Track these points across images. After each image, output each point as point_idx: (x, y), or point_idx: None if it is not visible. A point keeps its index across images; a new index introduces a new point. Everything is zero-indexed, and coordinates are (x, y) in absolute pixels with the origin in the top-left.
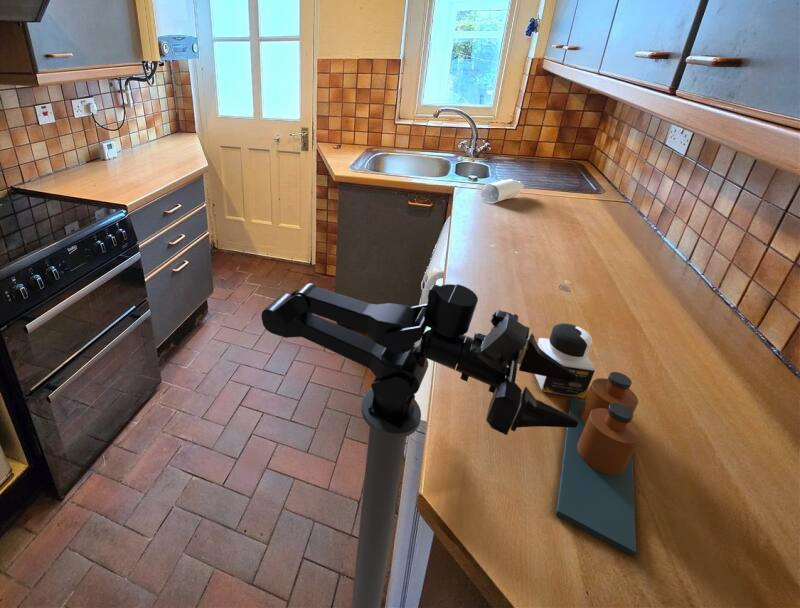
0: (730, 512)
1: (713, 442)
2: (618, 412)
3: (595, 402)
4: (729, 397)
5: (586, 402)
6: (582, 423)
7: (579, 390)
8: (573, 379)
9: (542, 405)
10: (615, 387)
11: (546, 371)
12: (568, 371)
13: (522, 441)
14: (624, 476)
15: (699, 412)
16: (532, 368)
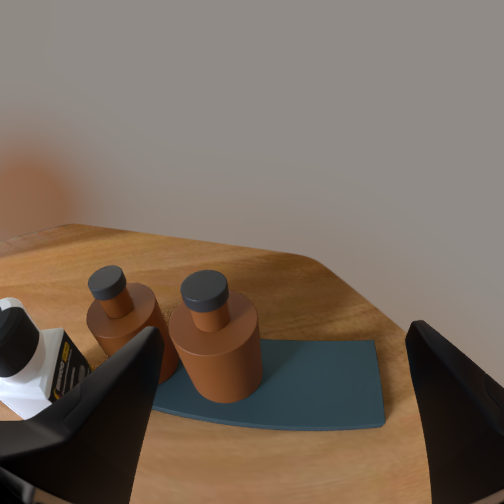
0: (240, 272)
1: (148, 268)
2: (214, 288)
3: None
4: (92, 250)
5: None
6: (158, 387)
7: (88, 373)
8: (161, 343)
9: (499, 401)
10: (120, 294)
11: (131, 430)
12: (139, 344)
13: (245, 491)
14: None
15: None
16: (120, 479)
